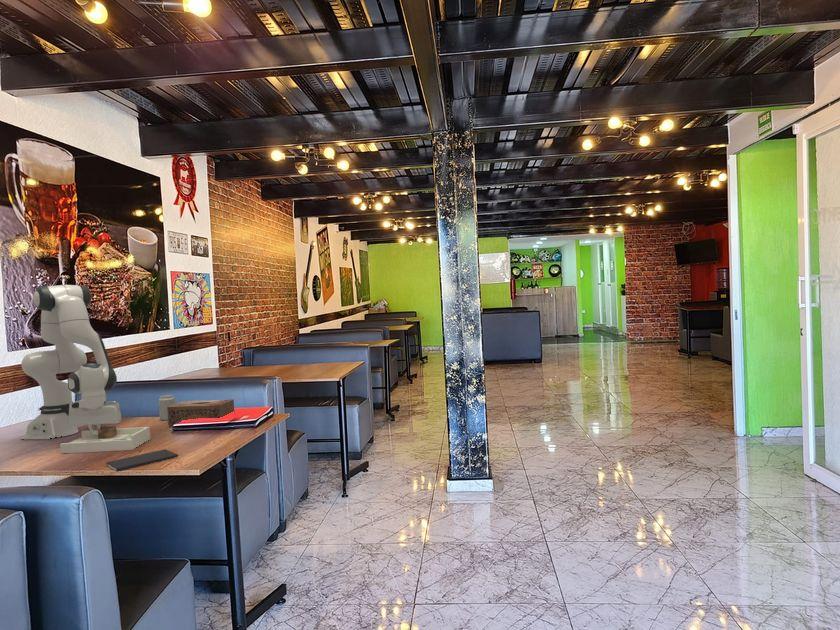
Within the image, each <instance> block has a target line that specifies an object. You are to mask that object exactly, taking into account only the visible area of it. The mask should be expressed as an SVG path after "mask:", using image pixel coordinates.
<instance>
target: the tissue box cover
mask: <svg viewBox="0 0 840 630" xmlns="http://www.w3.org/2000/svg"><path fill="white" fill-rule="evenodd" d="M234 400H235V399H233V398H231V399H230V398H229V399H203V400H202V399H201V400H200V399H199V400H197V399H196V400H181V401H179V402H177V403H176V402H175V404H174V405H171V406H168V407H167V410H168V420H167V421H168V428H173V427H172V426H173V425H174V424H176V423H179V422H181V421H182V420H188V419H196V418H197V419H198V418H220V417H223V416H225V415H227V414H229V413H231V412H233V411H234V412H235V402H234Z"/></svg>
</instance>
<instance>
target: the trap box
mask: <svg viewBox="0 0 840 630" xmlns="http://www.w3.org/2000/svg"><path fill="white" fill-rule="evenodd" d="M116 430H117V436H115V437H112V438H108V439H98V435H92V431H91V430H90V429H88V430H81V437H79V438H76V439H74V440H72V441H70V442H62V443H60V445H59V446H60V454H61V453H68V454H83V453H85V454H87V453H100V452H101V453H102V452H118V451H133V450H135V449H136V447H137V448H138V447H140V446H142V445H143V443H144V442H145V443H147V442H149V441H151V430H150V426H141V427H125V428H124V427H123V428H116ZM148 440H149V441H148ZM146 441H147V442H146ZM145 443H144V444H145ZM141 444H142V445H141ZM139 445H140V446H139Z"/></svg>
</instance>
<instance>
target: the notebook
mask: <svg viewBox="0 0 840 630" xmlns="http://www.w3.org/2000/svg"><path fill="white" fill-rule="evenodd" d="M177 456H178V457H179V453H175V452H173V451H170V450H168V449H159V450H155V451H150V452H146V453H143V454H141V453H140V454H138V455H133V456H127V457H124V458H119V459H116V460H111V461H107V462H105V464H106V467H108V468H111V469H112V470H113V471H115V472H122V471H126V470H130V469H134V468H138V467H142V466H147V465H151V463H152V464H155V463H154V462H156V463H160V462H163V461H162V460H165V461H167V460H166V459H169V460H171V459H170V458H173V459H175V458H174V457H177ZM178 457H177V458H178ZM159 461H160V462H159Z"/></svg>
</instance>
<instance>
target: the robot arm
mask: <svg viewBox="0 0 840 630" xmlns="http://www.w3.org/2000/svg"><path fill="white" fill-rule="evenodd" d="M32 299H33V300H32V301H33V304H34V305H35V308H37V309H38V310H41V313H40V337H41V339H42V340H43V341H44V342H46V343H48V344H52V345H54V346H55V349H53V350H41V351H40V350H39V351H34V352H31V353H28V354H27V353H26V355H24V356H23V358H22V361H21V362H20V363H21V366H20V367H21V369H22V371H23V373H24V374H26V375H27V376H28V377H30V378H32V379H34V380H35V381H36V382H37V383H38V385H39V387H40V389H41V392H42V393H41V394H42V398H43V405H42V406H41V407H38V410H37V411H40V413H39V415H37V416H36V417H35V418H34V419H33V420H31V421H30V422H29V423H28V424H27V426H26V433H25V434H23V435H21V436H20V440H22V439H24V440H51V439H50V438H52V439H56V438H55V437H57V438H62V437H67V436H71V435H75V434H77V433H79V429H78V427H77V426H88V430H91V431H92V435H98V429H100V428H102V427H104V425H112V424H118V423H121V421H122V413H121V410H120V409H121V404H120V403H119V402H118V401H116V400H112V401H109V400H108V401H107V394H106V391H111V390H112V389H113V388H114V387H115V386H116V384H117V382H118V378H117V373H116V372H115V370H114V368H113V366H112V364H111V361H110V358H109V355H108V352H107V349H106V346H105V343H104V341H103V339H102V336H101V334H100V333H99V332H98V331H95V330H94V329H93V327H92V324H91V323H90V317H89V313H88V310H87V307H89V306H90V304H91V302H92V292H91V290H90V288H89V287H88V286H85V285H81V284H75V285H74V284H59V285H45V286H39V287H37V288H36V289H35V290H34V292H33V296H32ZM75 344H76V345H77V344H78V345H82V346H85V347H87V348H89V349H90V350H91V351H92V353H93V355H94V359H95V361H96V362H88V358H87V355H86V353H85V352H84V351H83V350H82V349H80V348H79V347H77V346H76V345H75ZM67 373H70V375H69V376H68V378H67V382H65V381H62V380H59V379H58V378H57V374H58V375H59V374H67ZM73 393H74V394H79V395H80V396H81V397H80V399H78V400H76V401H73ZM95 425H96V427H97V429H96V428H95ZM61 436H62V437H61Z"/></svg>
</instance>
